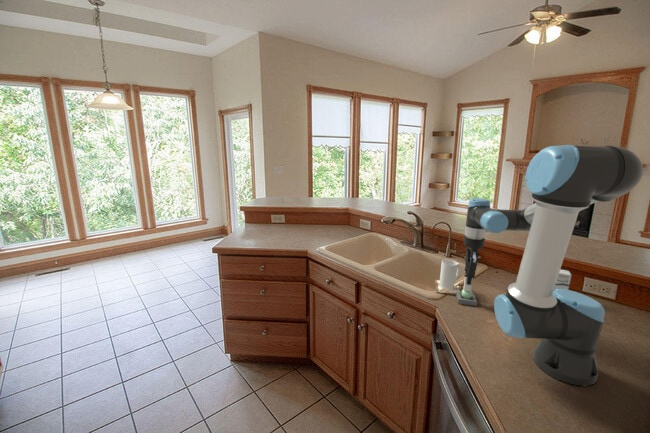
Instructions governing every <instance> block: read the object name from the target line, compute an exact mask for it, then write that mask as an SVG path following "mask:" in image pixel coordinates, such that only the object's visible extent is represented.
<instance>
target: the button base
mask: <svg viewBox="0 0 650 433" xmlns="http://www.w3.org/2000/svg"><path fill="white" fill-rule="evenodd" d="M461 294H462V292H457V291H456V296H455V298H456V303H457V304H458V305H466V306H472V307H477V305H478V300H477V298H476V296H475V293H472V299H463V298H462V297H461Z"/></svg>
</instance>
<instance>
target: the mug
mask: <svg viewBox="0 0 650 433" xmlns="http://www.w3.org/2000/svg"><path fill="white" fill-rule="evenodd" d="M460 272H461V267H460V263H459V262H457V261H456V260H453V259H443V260H441V266H440V275H439V280H440V284H439V286H440V287H441V288H445V289H451V290H452V289H454V285H455V282H456V280H458V277H459V275H460Z"/></svg>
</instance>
